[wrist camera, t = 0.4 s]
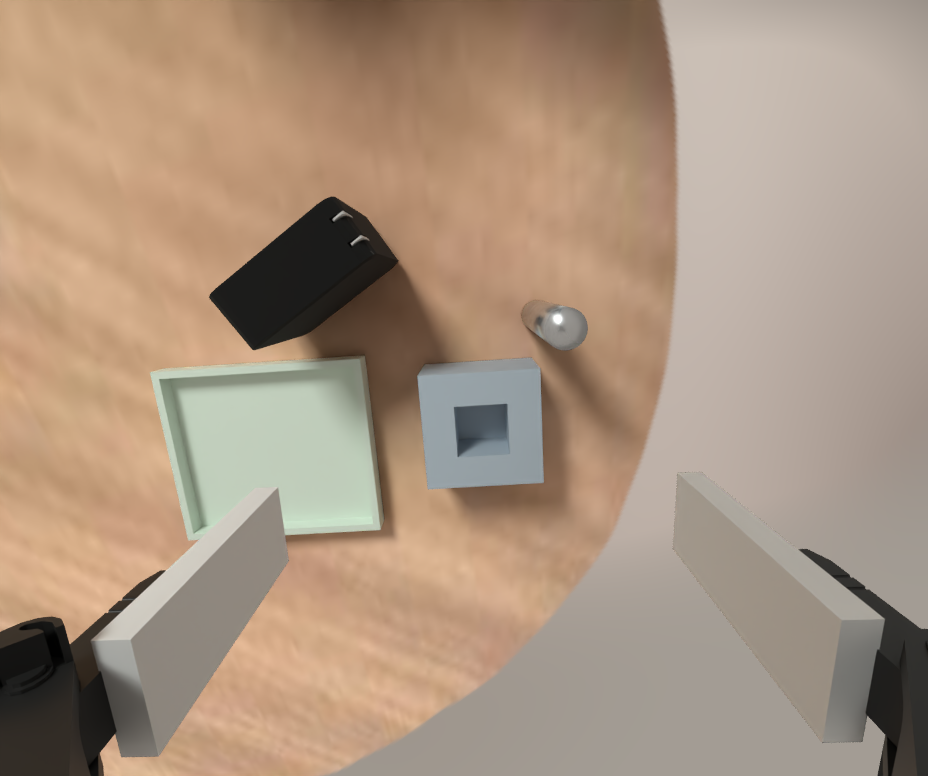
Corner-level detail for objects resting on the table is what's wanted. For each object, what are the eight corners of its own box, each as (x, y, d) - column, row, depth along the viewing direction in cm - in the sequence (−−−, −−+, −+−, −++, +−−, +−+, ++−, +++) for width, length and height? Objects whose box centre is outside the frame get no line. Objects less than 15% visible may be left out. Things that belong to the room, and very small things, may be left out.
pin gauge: (520, 300, 37) (543, 308, 25) (550, 298, 37) (587, 305, 25) (521, 330, 37) (545, 351, 25) (551, 328, 37) (587, 349, 25)
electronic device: (273, 294, 37) (201, 297, 27) (367, 217, 35) (328, 192, 26) (306, 335, 38) (248, 353, 28) (400, 262, 36) (374, 253, 26)
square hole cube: (424, 364, 38) (417, 376, 33) (531, 357, 38) (540, 368, 33) (433, 464, 40) (427, 489, 35) (534, 458, 40) (543, 482, 35)
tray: (164, 368, 38) (150, 372, 37) (365, 355, 38) (359, 358, 36) (200, 529, 42) (188, 540, 40) (384, 519, 41) (380, 529, 39)
